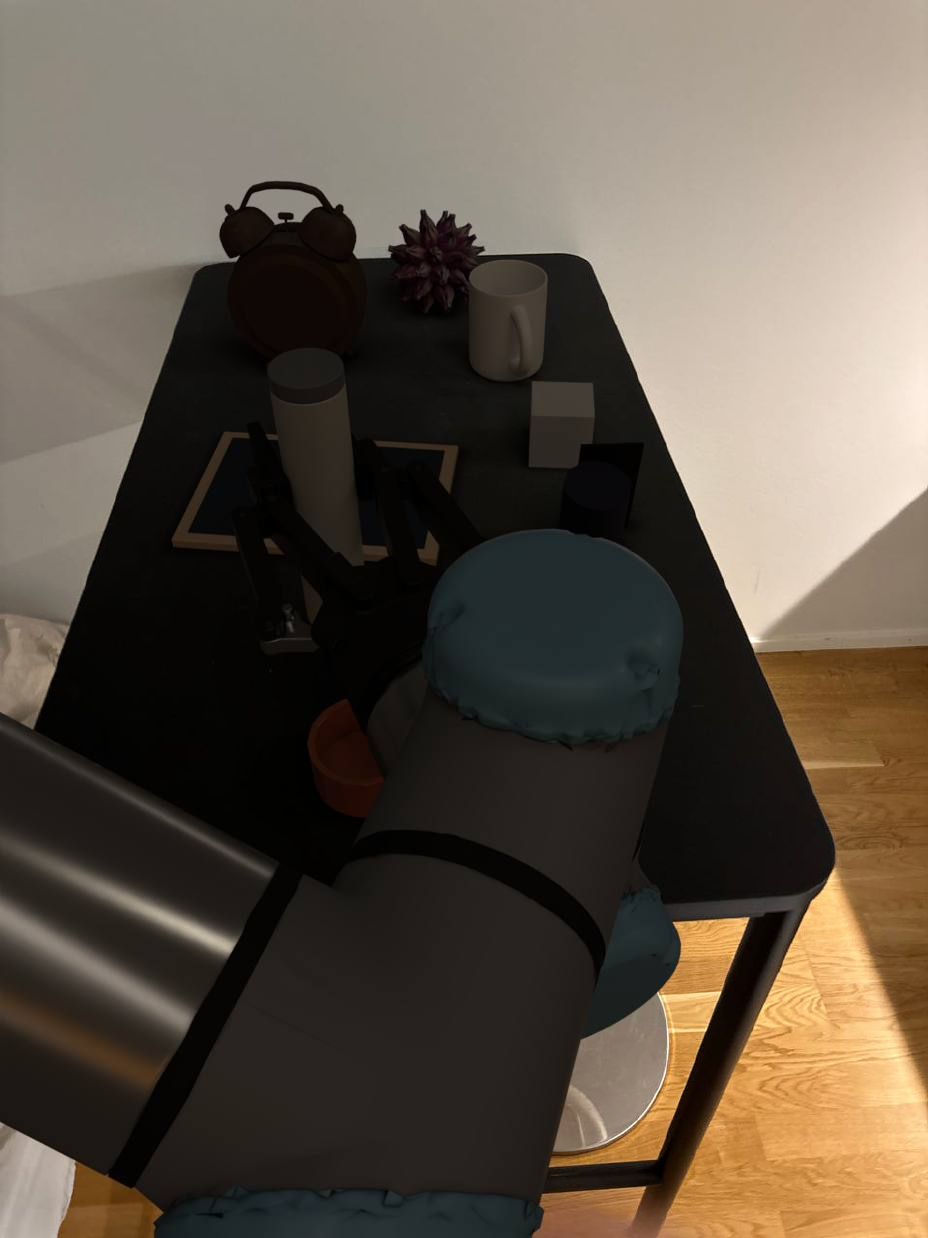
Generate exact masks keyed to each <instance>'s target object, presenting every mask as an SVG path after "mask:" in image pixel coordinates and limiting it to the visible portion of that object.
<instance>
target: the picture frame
mask: <svg viewBox="0 0 928 1238" xmlns="http://www.w3.org/2000/svg"><path fill="white" fill-rule="evenodd" d="M265 434H266V436H267V438H268V440H269V442H270V444H271V446H272V448H273V450H274V452H275V454H276V456H277V458H278V460H279V462H280V464H281V466H282V460H281V454H280V448H279V442H278V436H277V434H273V433H272V434H271V433H265ZM373 441H374V442H375V443H376V445H377V447H378V448H379V450H380V451H381V453H382V454H383V456H384V458H385V459H386V461H387V462H389V463H391V464H392V465H393V466H394V467H396V468H407V464H408V463H409V462H411V461H415V460H421V461H424V462H425V463H427V465H428V466H429V467H430V469H431V470H432V471H433V473H434V474H435V475H436V477H437V478H438V479H439V481H440V482H441V483H442V485H443V486H444V487H445V489H446V490H447V491H448V493H449V494H450V495H451V493H452V487H453V483H454V476H455V472H456V466H457V463H458V462H457V461H458V456H459V445H452V444H436V443H435V444H434V443H422V442H421V443H420V442H419V443H418V442H417V443H416V442H405V441H404V442H403V441H389V440H388V441H387V440H386V441H385V440H373ZM255 466H256V464H255V462H254V459H253V454H252V449H251V443H250V438H249V433H248V432H240V431H239V432H236V431H224V432H223V433H222V436H221V438H220V440H219V442H218V444H217V446H216V448H215V450H214V452H213V454H212V456H211V458H210V460H209V463H208V464H207V467H206V468H205V471H204V473H203V475H202V477H201V479H200V480H199V483H198V485H197V487H196V489H195V491H194V493H193V495H192V497H191V499H190V501H189V503H188V506H187V507H186V509H185V512H184V513H183V515H182V517H181V520H180V522H179V523H178V526H177V528H176V529H175V532H174V534H173V536H172V538H171V543H172V547H173V548H181V549H194V550H195V549H196V550H210V551H223V552H237V553H239V551H238V547H237V542H236V538H235V534H234V529H233V525H232V520H231V516H230V513H231V511H232V510H233V509H234V508H236V507H239V506H248V507H250V508H251V507H252V506H254V505H255V503H254V501H253V499H252V497H251V495H250V491H249V486H248V481H247V476H246V472H247V468H250V467H255ZM282 468H283V466H282ZM357 499H358V509H359V519H360V528H361V538H362V548H363V557H364V562H377V561H379V560H381V559H383V558H385V557H388V554H387V549H386V545H385V541H384V536H383V532H382V528H381V524H380V519H379V515H378V513H377V512H376V501H375V495H374V493H373V499H372V500H369V501H365V502H361V501H360V500H359V498H358V496H357ZM403 503H404V507H405V511H406V515H407V519H408V522H409V526H410V530H411V534H413V536H414V539H415V543H416V547H417V551H418V554H419V558H420V561H422V562H424V563H426V564H429V565H431V566H434V567H436V566H437V564H438V559H439V554H440V549H441V548H440V546H439V545H438V543H437V542H436V540H435V539H434V538H433V536H432V535H431V533H430V532H429V530H428V529H427V527H426V526H425V525H424V523H423V522H422V520H421V519H420V517H419V516H418V515H417V513H416V512H415V510H414V509H413V507H412V506H411V505H410V503H409V501H408V500H403ZM263 540H264V542H265V545H266V548H267V550H268V553H269V555H278V556H285V555H284V554H283V553H282V552H281V550H280V549H279V548H278V547H277V546H276V545H275V543H274V542H273V541H272V540H271V539H270V538H269V537H267V538H265V539H263Z"/></svg>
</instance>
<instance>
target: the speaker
mask: <svg viewBox="0 0 928 1238" xmlns="http://www.w3.org/2000/svg"><path fill="white" fill-rule="evenodd" d="M644 448H645V444H644V442H642V441H641V442H640V441H639V442H638V441H637V442H609V443H608V442H607V443H592V444H581V446H580V453H579V461H578V465H577V466H575V467H573V468H569V469H568V470H567V471H566V474H565V478H564V481H563V484H562V491H561V493H562V494H561V502H560V511H559V519H558V520H559V522H558V529H560V530H568V531H569V532H571V533H573V534H576V535H578V534H586V535H588V536H590V537H592V538H604V539H606V540H609V541H612V542H615V543H617V544H619V545H621V544H622V539H623V533H624V529H626V528H627V529H628V525H629V521H630V517H631V511H632V507H633V502H634V496H635V492H636V488H637V482H638V477H639V472H640V468H641V462H642V458H643V454H644ZM621 546H622V545H621Z"/></svg>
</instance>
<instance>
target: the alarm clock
mask: <svg viewBox="0 0 928 1238" xmlns="http://www.w3.org/2000/svg"><path fill="white" fill-rule="evenodd" d="M268 190H269V191H270V190H283V191H284V190H285V191H286V190H287V191H297V192H302V193H305V194H308V195H312V196H313V197H315V198H316V200H318V202H319V203H320V205H321V206H316V207H314V208H313V207H312V209H311V210H309V212H308V213H307V214H305V215H304V217H303V218H302V220H301V221H293V220H295V214H294V213H293V212H287V211H280V212H278V213H277V219H278V220H281V221H284V222H280V223H275V222H274V221H273V220H272V218H271V217H270V216H269V215H268V214H267V213H266V212H265V211H263V210H262V209H261V208H259V207H256V206H252V205H248V203H249V201H250V199H251V197H252V195H253V194H255V193H259V192H262V191H268ZM247 205H248V206H247ZM344 211H345V207H344V205H343V204H342V203H338V204H337V205H335V207H333V205H332V204H331V202H330V201H329V199H328V198H327V197H326V195H325V194H324V192H323V191H322V190H321V189H319V188H318V187H317V186H315V185H311V184H308V183H304V182H299V181H292V180H268V181H267V180H266V181H263V182H259V183H256V184H252V185H251V186H250V187H249V188H248V189H247V190H246V192H245V194H244V196H243V198H242V200H241V203H240V205H239V207H238V208H237V209H235V208H234V206H233V205H232V204H230V203H226V204H224V212H225V213H226V214H227V215H226V216H225V217H224V220H223V221H222V223H221V226H220V228H219V233H218V237H219V241H220V244H221V247H222V248H223V251H224V253H225V254H226V256H227V257H228V259H235V258H237V259H236V261H235V264H234V266H233V269H232V272H231V275H230V277H229V280H228V285H227V290H226V291H227V292H226V296H227V297H226V298H227V304H228V305H227V307H228V310H229V314H230V316H231V320H232V322H233V324H234V326H235V327H236V329H237V331H238V332H239V334H240V336H241V337H243V339H244V340H245V341H246V343H248V345H249V346H251V347H252V348H253V349H254V350H255V351H257V352H258V353H260V355H262V356H264V357H266V358H267V362H265V363H264V367H265V368H266V369H267V368H268V365H269V363H270V362H271V361H272V360H273V359H274V358H275V357H277V356H278V355H280V354H282V353H285V352H287V351H291V350H295V349H301V348H319V349H324V350H328V351H330V352H333V353H334V354H336V355H337V356H339V357H340V358H341V356H342V355H343V354H345V353H346V355H347V356H348V357H350V356H351V357H352V355H353V353H354V352H353V350H352V349H350V347H351V345H352V343H353V342H354V340H355V338H356V336H357V334H358V333H359V331H360V329H361V327H362V324H363V321H364V317H365V313H366V306H367V297H368V286H367V280H366V275H365V272H364V270H363V267H362V264H361V263H360V261H359V259H358V257H357V256H356V255H355V253H354V250H355V248H356V243H357V237H358V236H357V230H356V227H355V225H354V223H353V220H351V218H350V217H349V216H348V214H346V213H344Z"/></svg>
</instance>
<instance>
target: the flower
mask: <svg viewBox="0 0 928 1238" xmlns="http://www.w3.org/2000/svg"><path fill="white" fill-rule="evenodd" d="M419 213H420V219H419V224H418V230H417V229H415V228H412V227H409V226H408V225H407V224H405V223H401V225H399V226H398V230H400V232H401V234H402V238H403V241H404V243H400V244H397V245H393V244H392V245H391V244H389V245H388V246H387V251H388V252H389V253H390V256H389V258H390V260H391V261H394V262H395V263H397V264H398V266H397V267H396V268H395V269H394V270H393V271H392V272H391V273H389V274H387V277H388V281H389V282H390V281H400V282H399V284H398V285H397V290H398V291H402V290H405V291H404V294H403V296H401V301H402V302H403V303H407V301H408V300H410V299H411V298H413V299H414V300H415V301H417V302H418V307H417V309H418V310H419V311H422V312H423V314H428V312H429V310H430V308H431V307H432V306H433V304H434V303H435V301H437V303H438V304H439V305H440V307H441V308H442V309H443V312H444V314H450V312H451V310H452V303H453V300H454V297H458V298H460V299H461V300H462V301H464V302H466V301H467V300H469V275H470V273H471V272H472V270H473V269H474V268H476V267H477V266H479V265H481V264H482V263H481V264H480V263H478V262H477V261H476V260H475V259H476V258H477V257H478V256H479V255H480V254H481V253H483V252H486V248H485V245H481V246H479V245H473V243H474V242H475V241H476V240H477V239H478V237H477V235H476V233H473V234H471V235H470V232H471V230H472V228H473V225H472V224H471V223H470V222H467V223H466V224H465V225H463V226H459V227H457V225H456V216H457V214H456V213H452V212H450V213H449V210H442V214H441V216H440V218H439V220H437V222H436V224H435V222H434V220H433V219H432V218H431V217H430V216H429V214H428V212H427V210H426V209H420V210H419Z"/></svg>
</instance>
